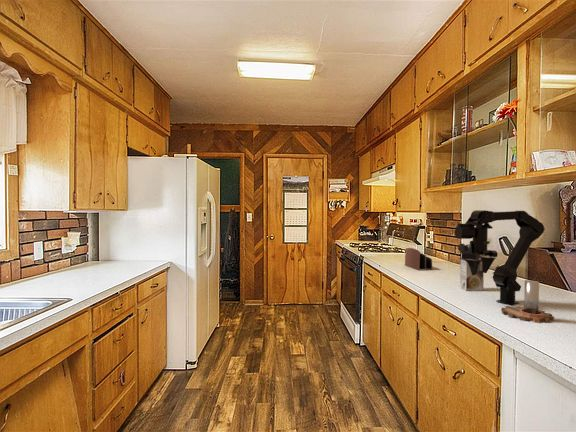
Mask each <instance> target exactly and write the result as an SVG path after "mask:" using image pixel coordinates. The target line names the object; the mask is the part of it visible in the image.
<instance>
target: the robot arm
mask: <svg viewBox="0 0 576 432" xmlns="http://www.w3.org/2000/svg"><path fill="white" fill-rule="evenodd" d="M510 220H511V221H512V220H513V221H514V220H515V222H516V225H517V227H518V228H519V231H518V234H519V238H518V239H517V241H516V242H515V243H516V244H515V245H514V246H513V248H512V250H511V253H510V254H509V255H508V258H507V259H506V261H505V263H504V264H503V265H501V266H499V265H497V266H496V267H495V270H494V272H492V280H493V282H494V284H495V287H497V288H499V299H497V300H496V302H497V303H501V304H506V305H508V306H509V305H510V306H513V305H517V304H520V302H519V301H516V292H520V290H521V288H522V286H521V284H519V282H518V281H517V278H518V272H517V270H518V268H519V266H520V264H521V262H522V261H523V259H524V258H525V256H526V253H527V252H528V251H529V249H530V248H531V245H532V244H533V242H535V241H536V240H538V239H539V238H540V237H541V236H542V234H544V232H545V230H546V229H545V226H544V224H543V222H540V221H539V220H538V219H537V218H535V217H534V216H532V215H530V214H529V213H528V212H527V211H526V210H511V211H510V210H509V211H492V210H491V211H490V210H487V209H486V210H481V209H479V210H478V209H477V210H472V212H471V214H470V216H469V217H468V219H467V220H466V221H465V223H457V226H456V227H455V228H454V236H455V239H457V240H464V239H465V240H470V241H469V244H464V243H459V244H458V246H457V250H458V251H459V252H460V255H461V257H460V258H463V260H465V261H466V262H467V263H468V264H469V267H470V270H471V273H472V275H475V274H476V271H477V268H478V265H479V262H480V260H479V259H481V260H482V263H483V272H484V273H483V274H487V273H488V272H489V269H490V268H491V266H492V264H493V263H494V261H495V259H496V260H497V258H498V254H499V253H498V252H497V250H494V249H488V245H489V244H490V241H488V235H489V234H488V230H489V229H490V230H491V229H493V226H491V224H490V223H493V222H495V221H510ZM471 239H472V240H471Z"/></svg>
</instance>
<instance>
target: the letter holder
mask: <svg viewBox="0 0 576 432" xmlns="http://www.w3.org/2000/svg"><path fill="white" fill-rule="evenodd" d="M404 255H405V256H404V266H405V267H408V268H410V269H413V270H415V271H423V272H424V271H433V259H432V258H431V257H428V256H427V255H425V254H424V253H421V252H420V250H418V249H416V248H413V247H406V248H405V254H404Z"/></svg>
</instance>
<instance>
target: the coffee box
mask: <svg viewBox="0 0 576 432" xmlns="http://www.w3.org/2000/svg"><path fill="white" fill-rule="evenodd" d="M459 259H460V260H459V262H460V266H459V270H460V271H459V275H460V276H459V288H460V289H461V290H463V291H465V292H477V291H478V292H480V291H481V292H482V291H483V292H484V289H485V288H484V274H485V273H484V272H483V263H482V260H481V259H480V258H479V260H480V262H479V265H478V268H477V271H476V274H475V275H472V273H471V270H470V267H469V264H468V263H467V262H466V261H465V260H463V258H461V257H460V258H459Z"/></svg>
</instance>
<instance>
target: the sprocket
mask: <svg viewBox="0 0 576 432" xmlns="http://www.w3.org/2000/svg"><path fill="white" fill-rule="evenodd" d="M500 311H501V314H502V315H506V316H508V318H511V319H518V320H519V321H521V322H522V321H523V322H526V321H530V322H533V323H541V322H543V323H550V322H551V321H552V322H553V321H554V320H555V318H554V315H553V314H552V313H549V312H546V311H545V310H541V309H539V314H530V313H526V312H524V307H521V306H520V305H518V306H517V305H516V306H511V305H510V306H509V305H508V306H507V305H506V306H505V307H501V309H500Z"/></svg>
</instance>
